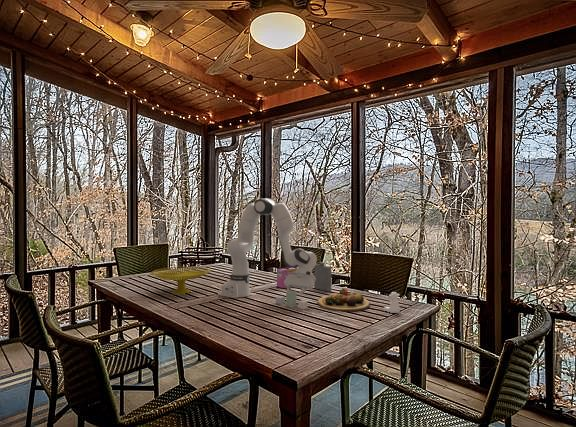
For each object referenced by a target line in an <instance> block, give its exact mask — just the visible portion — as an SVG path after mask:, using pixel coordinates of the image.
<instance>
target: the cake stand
mask: <svg viewBox="0 0 576 427" xmlns="http://www.w3.org/2000/svg"><path fill="white" fill-rule="evenodd" d="M210 272H211V269H210V268H207V267H203V266H192V265H191V266H172V267H164V268H158V269H154V270H153V271H151V272H150V274H151V275H152V276H155V277H157V278H160V279H161V280H165V281H176V282H177V288H175V289H174V290H172V291H171V292H170V294H171V293H173V294H172V295H175V294H183V295H186V294H185V293H189V292H191V291H192V290H191V289H188V288H186V281H188V280H194V279H198V278H200V277H203V276H205V275H206V274H208V273H210ZM191 293H192V292H191ZM189 294H190V293H189Z"/></svg>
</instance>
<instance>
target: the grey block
mask: <svg viewBox="0 0 576 427" xmlns="http://www.w3.org/2000/svg"><path fill="white" fill-rule="evenodd" d="M275 304H277V305H284V304H286V296H283V295H278V296H275Z"/></svg>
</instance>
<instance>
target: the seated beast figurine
mask: <svg viewBox="0 0 576 427" xmlns="http://www.w3.org/2000/svg"><path fill="white" fill-rule="evenodd" d="M399 296H400V293H397V292H396V291H392V292H391V293H390V294H389V298H390V302H389V306H385V307H383V310H382V311H384V312H385V311H387V312H386V313H389V312H390V313H389V314H392V313H398V314H400V312H401V308H400V307H401V306H400V305H399V304H400V303H399V301H398V298H399Z"/></svg>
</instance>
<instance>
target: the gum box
mask: <svg viewBox="0 0 576 427" xmlns="http://www.w3.org/2000/svg"><path fill="white" fill-rule="evenodd" d="M298 268H299V265H296V266H294V267H288V266H286V267H282V268H281V267H280V268H276V287H279V288H281V289H284V288H287V286H286V285H285V284H284V281H285V279H286V278H287V276H288V275H289V274H291V273H296V272H297V270H298Z"/></svg>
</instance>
